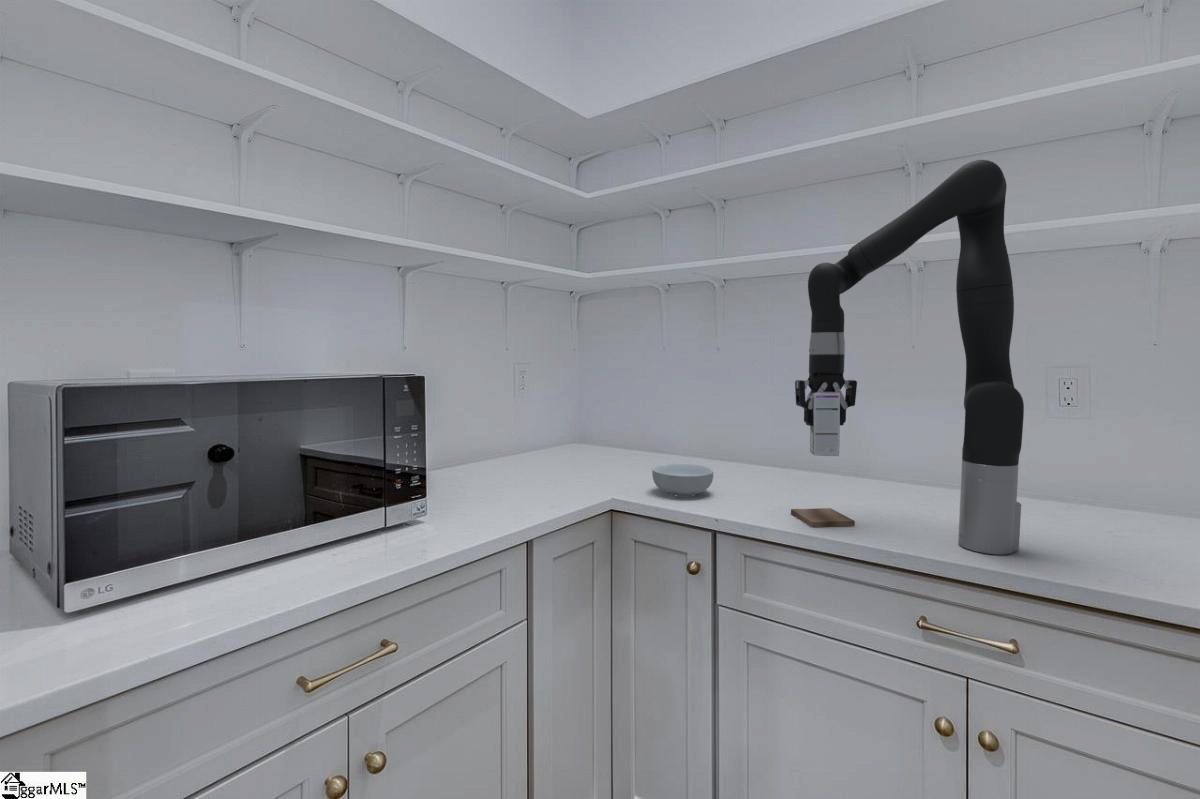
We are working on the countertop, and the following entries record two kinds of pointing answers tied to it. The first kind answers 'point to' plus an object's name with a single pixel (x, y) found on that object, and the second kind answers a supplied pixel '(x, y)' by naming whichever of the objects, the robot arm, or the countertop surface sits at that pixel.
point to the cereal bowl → (682, 478)
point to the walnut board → (822, 517)
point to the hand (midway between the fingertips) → (824, 425)
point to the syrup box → (825, 424)
